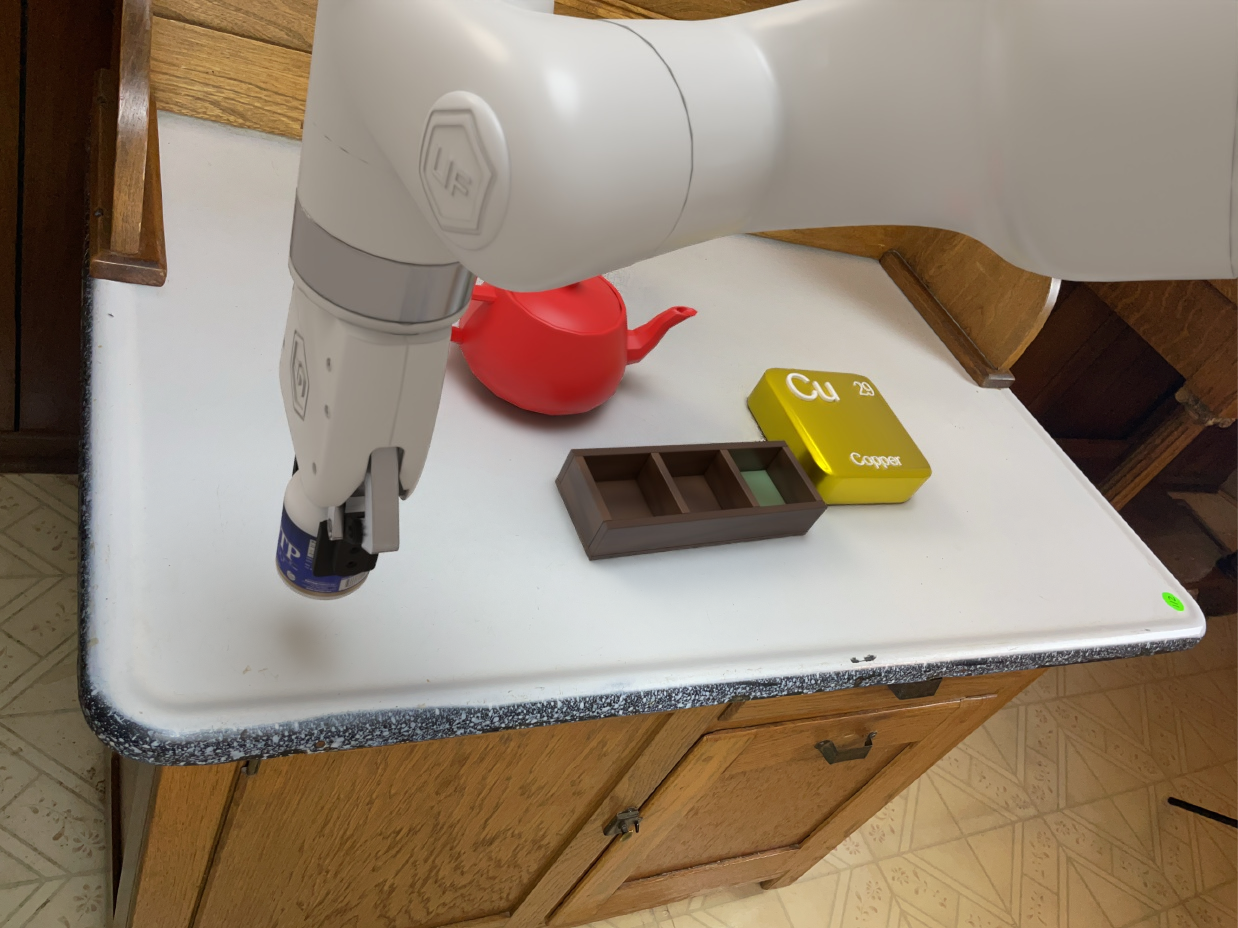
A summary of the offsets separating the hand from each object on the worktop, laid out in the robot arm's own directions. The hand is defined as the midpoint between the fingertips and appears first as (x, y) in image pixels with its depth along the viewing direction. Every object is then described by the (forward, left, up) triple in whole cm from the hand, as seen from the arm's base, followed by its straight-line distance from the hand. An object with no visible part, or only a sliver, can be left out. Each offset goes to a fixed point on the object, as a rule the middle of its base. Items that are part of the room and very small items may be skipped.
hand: (332, 523), depth 47 cm
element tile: (+13, -54, -11) cm, 56 cm away
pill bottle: (0, 0, -4) cm, 4 cm away
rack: (+7, -33, -11) cm, 35 cm away
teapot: (+24, -25, -11) cm, 36 cm away
